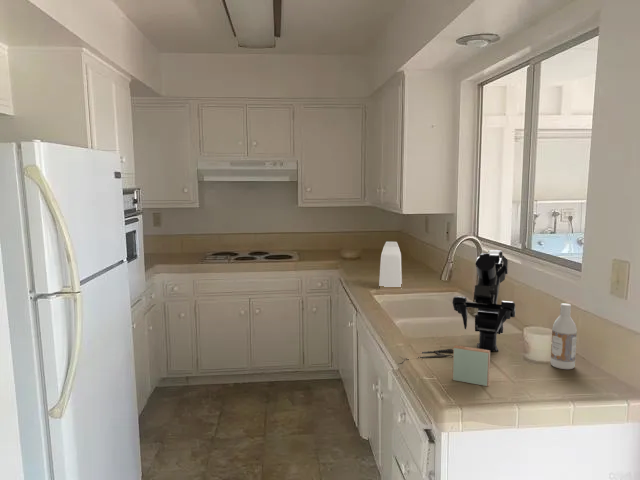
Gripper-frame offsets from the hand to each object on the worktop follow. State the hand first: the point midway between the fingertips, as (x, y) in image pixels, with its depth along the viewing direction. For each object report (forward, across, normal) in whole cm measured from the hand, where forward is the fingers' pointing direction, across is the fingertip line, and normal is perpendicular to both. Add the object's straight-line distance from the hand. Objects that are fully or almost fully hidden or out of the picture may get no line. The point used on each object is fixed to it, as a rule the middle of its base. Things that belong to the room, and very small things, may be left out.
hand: (480, 330), depth 152 cm
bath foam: (0, +24, +19) cm, 30 cm away
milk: (-60, -63, +88) cm, 124 cm away
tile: (+17, -1, -1) cm, 17 cm away
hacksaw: (+8, -18, +10) cm, 22 cm away
